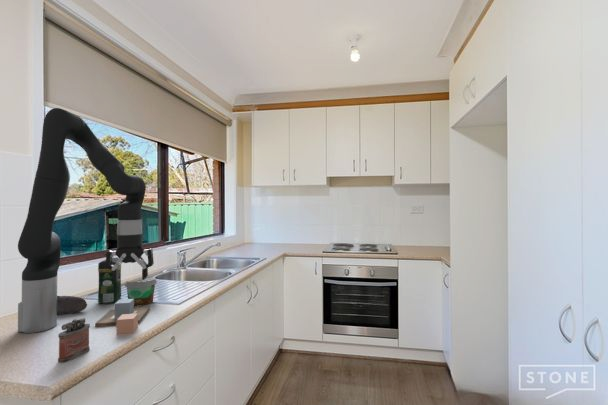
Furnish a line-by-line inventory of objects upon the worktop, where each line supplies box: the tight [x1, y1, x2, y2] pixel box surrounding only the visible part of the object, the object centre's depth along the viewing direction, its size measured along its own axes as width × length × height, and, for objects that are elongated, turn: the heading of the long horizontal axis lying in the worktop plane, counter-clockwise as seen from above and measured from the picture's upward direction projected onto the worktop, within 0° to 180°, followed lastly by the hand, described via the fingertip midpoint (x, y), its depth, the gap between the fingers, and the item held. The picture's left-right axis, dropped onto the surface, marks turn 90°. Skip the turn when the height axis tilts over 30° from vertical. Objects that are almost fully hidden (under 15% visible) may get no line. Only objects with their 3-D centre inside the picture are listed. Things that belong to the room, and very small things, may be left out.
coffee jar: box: [97, 257, 122, 305], centre depth 133 cm, size 10×8×19 cm
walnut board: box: [94, 306, 151, 328], centre depth 114 cm, size 14×14×1 cm
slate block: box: [114, 298, 135, 317], centre depth 114 cm, size 5×5×5 cm
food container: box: [124, 278, 158, 307], centre depth 128 cm, size 12×6×10 cm, turn 105°
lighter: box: [57, 317, 91, 364], centre depth 86 cm, size 8×3×10 cm, turn 163°
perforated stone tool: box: [57, 295, 88, 315], centre depth 118 cm, size 15×5×7 cm, turn 104°
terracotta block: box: [116, 313, 139, 336], centre depth 102 cm, size 5×5×5 cm
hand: (130, 280), depth 104 cm, fingers open, 8 cm apart
